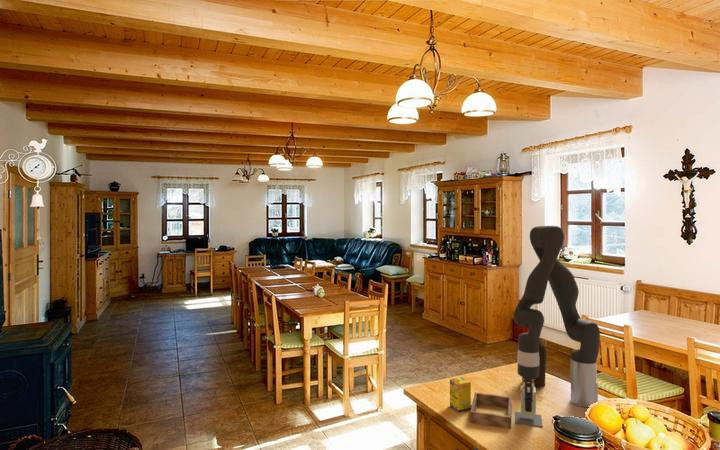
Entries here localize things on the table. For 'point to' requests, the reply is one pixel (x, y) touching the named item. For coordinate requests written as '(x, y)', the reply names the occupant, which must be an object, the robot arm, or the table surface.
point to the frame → (488, 417)
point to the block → (533, 413)
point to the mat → (529, 420)
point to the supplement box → (460, 394)
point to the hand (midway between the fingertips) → (528, 407)
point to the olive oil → (541, 366)
